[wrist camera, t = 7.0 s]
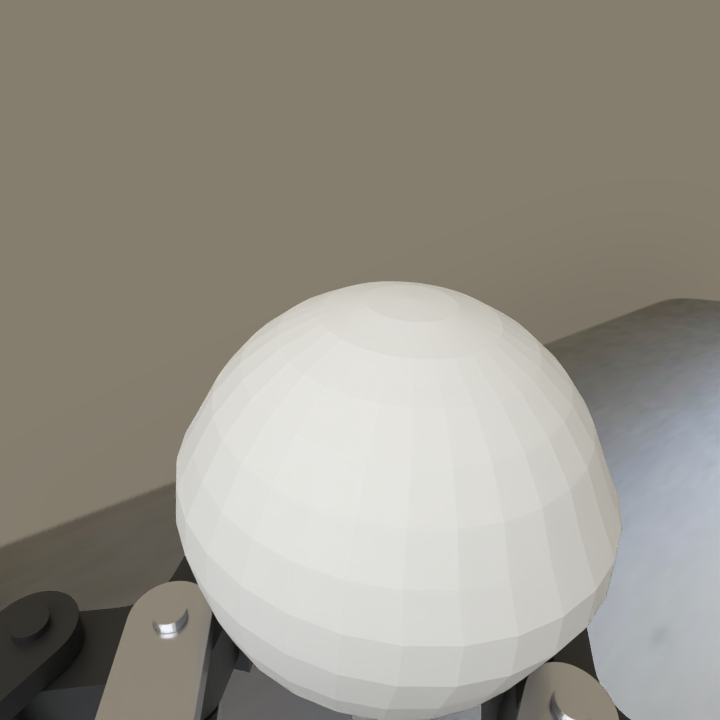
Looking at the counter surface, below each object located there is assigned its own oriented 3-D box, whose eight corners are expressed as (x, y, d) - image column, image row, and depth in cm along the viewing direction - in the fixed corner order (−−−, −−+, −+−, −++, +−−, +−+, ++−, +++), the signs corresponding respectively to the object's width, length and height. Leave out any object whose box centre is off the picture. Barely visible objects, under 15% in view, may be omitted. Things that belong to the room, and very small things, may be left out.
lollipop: (175, 904, 12) (6, 327, 5) (302, 678, 17) (310, 210, 10) (425, 1097, 10) (741, 582, 3) (492, 778, 15) (681, 277, 8)
